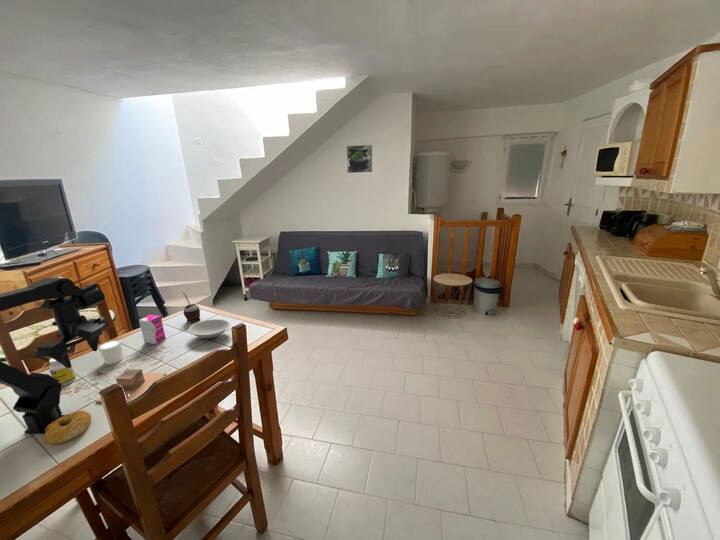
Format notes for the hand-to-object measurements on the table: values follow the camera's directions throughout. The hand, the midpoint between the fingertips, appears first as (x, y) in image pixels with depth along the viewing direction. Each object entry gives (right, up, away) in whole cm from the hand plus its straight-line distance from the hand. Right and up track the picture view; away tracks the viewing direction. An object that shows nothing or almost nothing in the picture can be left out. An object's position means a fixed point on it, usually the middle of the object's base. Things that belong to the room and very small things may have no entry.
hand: (82, 359), depth 97 cm
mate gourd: (+7, +3, +52) cm, 53 cm away
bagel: (+7, -18, -11) cm, 22 cm away
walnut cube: (+12, -11, +5) cm, 17 cm away
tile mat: (+12, -12, +6) cm, 18 cm away
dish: (+23, -1, +38) cm, 44 cm away
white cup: (-7, -7, +21) cm, 24 cm away
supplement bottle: (-15, -11, +9) cm, 21 cm away
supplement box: (0, -3, +35) cm, 35 cm away
